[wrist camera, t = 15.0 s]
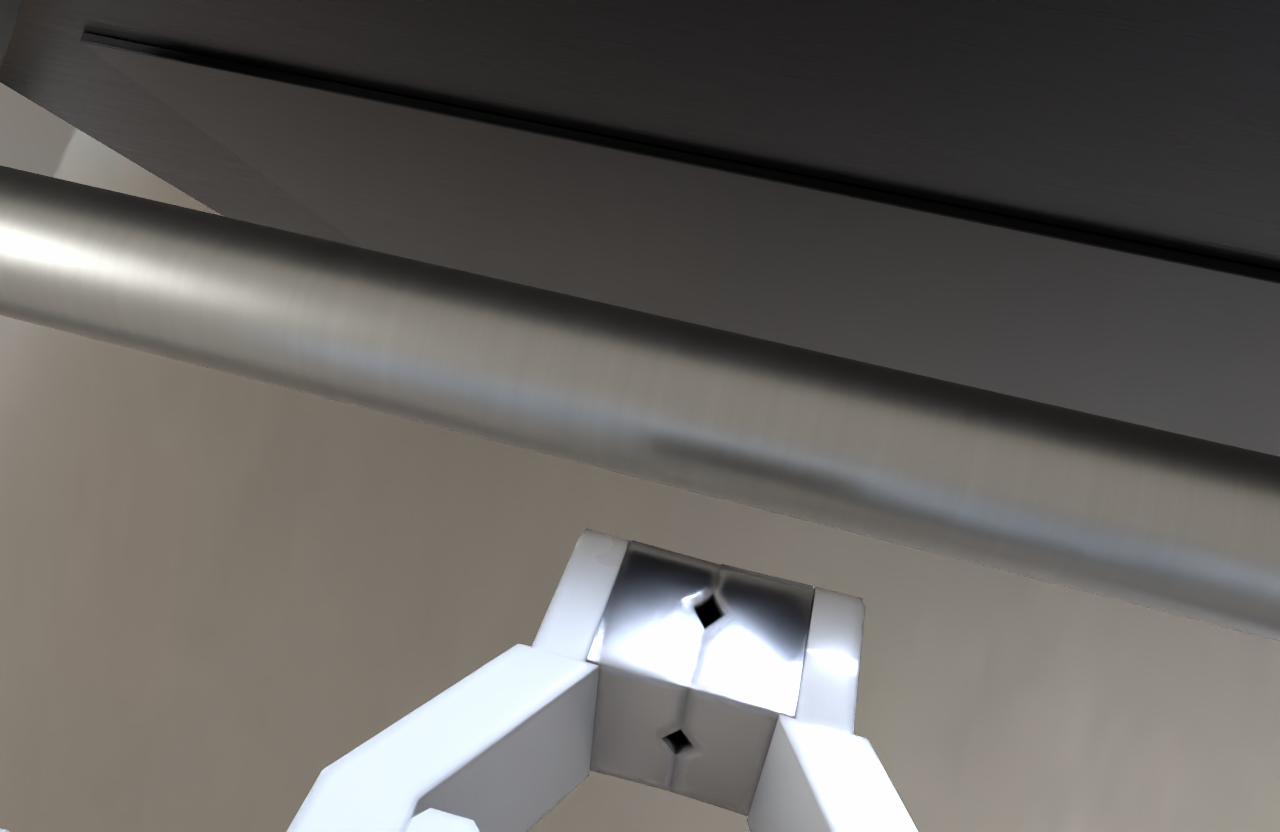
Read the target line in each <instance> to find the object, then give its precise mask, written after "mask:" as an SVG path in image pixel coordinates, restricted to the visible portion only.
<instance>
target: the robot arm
mask: <svg viewBox="0 0 1280 832" xmlns="http://www.w3.org/2000/svg"><path fill="white" fill-rule="evenodd" d="M864 614H865V605H864V602H863V599H862V598H858V597H854V596H850V595H846V594H842V593H838V592H834V591H830V590H826V589H822V588H818V587H815V588H814V589H813V586H811V585H807V584H803V583H799V582H795V581H791V580H786V579H782V578H778V577H774V576H770V575H766V574H761V573H757V572H753V571H749V570H745V569H740V568H736V567H732V566H728V565H724V564H721V565H719V564H715V563H712V562H708V561H705V560H701V559H697V558H694V557H690V556H687V555H683V554H679V553H676V552H672V551H669V550H665V549H661V548H658V547H654V546H651V545H647V544H643V543H640V542H636V541H633V540H632V541H630V540H627V539H623V538H619V537H616V536H612V535H608V534H605V533H601V532H597V531H594V530H590V529H586V530H585V532H584V533H583V534H582V535H581V537H580V538H579V539H578V541H577V544H576V546H575V548H574V550H573V553H572V555H571V557H570V560H569V562H568V564H567V566H566V569H565V571H564V573H563V576H562V578H561V580H560V583H559V585H558V587H557V589H556V592H555V594H554V596H553V599H552V601H551V603H550V605H549V608H548V610H547V612H546V615H545V617H544V619H543V621H542V624H541V626H540V628H539V631H538V633H537V635H536V638H535V640H534V642H533V644H532V647H531V646H527V645H523V644H519V643H518V644H516V645H515V646H513V647H512V648H510V649H509V650H507V651H506V652H504V653H502V654H501V655H499V656H498V657H496V658H495V659H493V660H492V661H490V662H488V663H487V664H485V665H484V666H482V667H481V668H479V669H478V670H476V671H475V672H473V673H471V674H470V675H468V676H467V677H465V678H464V679H462V680H461V681H459V682H458V683H456V684H454V685H453V686H451V687H450V688H448V689H447V690H445V691H444V692H442V693H440V694H439V695H437V696H436V697H434V698H433V699H431V700H430V701H428V702H427V703H425V704H423V705H422V706H420V707H419V708H417V709H416V710H414V711H413V712H411V713H410V714H408V715H406V716H405V717H403V718H402V719H400V720H399V721H397V722H396V723H394V724H393V725H391V726H389V727H388V728H386V729H385V730H383V731H382V732H380V733H379V734H377V735H375V736H374V737H372V738H371V739H369V740H368V741H366V742H365V743H363V744H362V745H360V746H358V747H357V748H355V749H354V750H352V751H351V752H349V753H348V754H346V755H345V756H343V757H341V758H340V759H338V760H337V761H335V762H334V763H332V764H331V765H329V766H327V767H326V768H324V769H323V770H322V771H321V773H320V775H319V777H318V778H317V780H316V782H315V783H314V785H313V787H312V789H311V790H310V792H309V794H308V795H307V797H306V799H305V801H304V802H303V804H302V806H301V808H300V809H299V811H298V813H297V814H296V816H295V818H294V820H293V821H292V823H291V825H290V826H289V828H288V830H287V832H527V831H528V830H529V829H531V828H532V827H533V826H534V825H535V824H536V823H537V822H538V821H539V820H540V819H542V818H543V817H544V816H545V815H546V814H547V813H548V812H549V811H550V810H551V809H553V808H554V807H555V806H556V805H557V804H558V803H559V802H560V801H561V800H563V799H564V798H565V797H566V796H567V795H568V794H569V793H570V792H571V791H572V790H574V789H575V788H576V787H577V786H578V785H579V784H580V783H581V782H582V781H583V780H585V779H586V778H587V777H588V776H589V770H591V771H595V772H599V773H603V774H606V775H610V776H614V777H618V778H622V779H626V780H629V781H633V782H637V783H641V784H645V785H648V786H652V787H656V788H660V789H664V790H668V791H671V792H674V793H677V794H680V795H683V796H686V797H690V798H693V799H696V800H699V801H702V802H705V803H708V804H712V805H715V806H718V807H721V808H724V809H727V810H730V811H733V812H737V813H740V814H743V815H746V816H748V818H747V822H748V825H749V828H750V831H751V832H918V830H917V829H916V827H915V825H914V823H913V821H912V819H911V817H910V816H909V814H908V812H907V810H906V808H905V806H904V805H903V803H902V801H901V799H900V797H899V795H898V793H897V792H896V790H895V788H894V786H893V784H892V782H891V780H890V779H889V777H888V775H887V773H886V771H885V769H884V768H883V766H882V764H881V762H880V760H879V758H878V756H877V755H876V753H875V751H874V749H873V747H872V745H871V743H870V742H869V740H868V739H866V738H863V737H860V736H856V735H853V732H854V722H855V711H856V700H857V689H858V678H859V668H860V657H861V646H862V635H863V625H864ZM0 832H11V831H8V830H5V829H2V828H0Z"/></svg>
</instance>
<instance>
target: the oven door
mask: <svg viewBox="0 0 1280 832" xmlns="http://www.w3.org/2000/svg"><path fill="white" fill-rule="evenodd" d="M0 82H1V83H3V84H4V85H6V86H8V87H10V88H11V89H13V90H14V91H16V92H18V93H19V94H21V95H23V96H25V97H26V98H28V99H29V100H31V101H33V102H34V103H36V104H38V105H39V106H41V107H43V108H45V109H46V110H48V111H49V112H51V113H53V114H54V115H56V116H58V117H59V118H61V119H63V120H65V121H66V122H68V123H69V124H71V125H73V126H74V127H76V128H78V129H79V130H81V131H83V132H84V133H86V134H88V135H89V136H91V137H93V138H94V139H96V140H98V141H99V142H101V143H103V144H104V145H106V146H108V147H109V148H111V149H113V150H114V151H116V152H118V153H119V154H121V155H123V156H124V157H126V158H128V159H129V160H131V161H133V162H134V163H136V164H138V165H139V166H141V167H143V168H144V169H146V170H148V171H149V172H151V173H153V174H154V175H156V176H158V177H159V178H161V179H163V180H164V181H166V182H168V183H169V184H171V185H173V186H174V187H176V188H178V189H179V190H181V191H183V192H184V193H186V194H188V195H189V196H191V197H193V198H194V199H196V200H198V201H199V202H201V203H203V204H205V205H206V206H208V207H210V208H211V209H213V210H215V211H216V212H218V213H220V214H221V215H223V216H220V215H215V214H211V213H206V212H202V211H198V210H193V209H189V208H184V207H180V206H176V205H171V204H167V203H162V202H158V201H154V200H149V199H145V198H141V197H136V196H132V195H127V194H123V193H119V192H114V191H110V190H105V189H101V188H97V187H92V186H88V185H83V184H79V183H75V182H70V181H66V180H61V179H57V178H53V177H48V176H44V175H39V174H35V173H31V172H26V171H22V170H17V169H13V168H9V167H4V166H0V315H3V316H7V317H11V318H15V319H19V320H23V321H26V322H30V323H34V324H38V325H42V326H46V327H50V328H54V329H58V330H62V331H66V332H70V333H73V334H77V335H81V336H85V337H89V338H93V339H97V340H101V341H105V342H109V343H113V344H117V345H121V346H124V347H128V348H132V349H136V350H140V351H144V352H148V353H152V354H156V355H160V356H164V357H168V358H172V359H175V360H179V361H183V362H187V363H191V364H195V365H199V366H203V367H207V368H211V369H215V370H219V371H223V372H226V373H230V374H234V375H238V376H242V377H246V378H250V379H254V380H258V381H262V382H266V383H270V384H274V385H277V386H281V387H285V388H289V389H293V390H297V391H301V392H305V393H309V394H313V395H317V396H321V397H325V398H328V399H332V400H336V401H340V402H344V403H348V404H352V405H356V406H360V407H364V408H368V409H372V410H376V411H379V412H383V413H387V414H391V415H395V416H399V417H403V418H407V419H411V420H415V421H419V422H423V423H426V424H430V425H434V426H438V427H442V428H446V429H450V430H454V431H458V432H462V433H466V434H470V435H474V436H477V437H481V438H485V439H489V440H493V441H497V442H501V443H505V444H509V445H513V446H517V447H521V448H525V449H528V450H532V451H536V452H540V453H544V454H548V455H552V456H556V457H560V458H564V459H568V460H572V461H576V462H579V463H583V464H587V465H591V466H595V467H599V468H603V469H607V470H611V471H615V472H619V473H623V474H627V475H630V476H634V477H638V478H642V479H646V480H650V481H654V482H658V483H662V484H666V485H670V486H674V487H678V488H681V489H685V490H689V491H693V492H697V493H701V494H705V495H709V496H713V497H717V498H721V499H725V500H729V501H732V502H736V503H740V504H744V505H748V506H752V507H756V508H760V509H764V510H768V511H772V512H776V513H780V514H783V515H787V516H791V517H795V518H799V519H803V520H807V521H811V522H815V523H819V524H823V525H827V526H830V527H834V528H838V529H842V530H846V531H850V532H854V533H858V534H862V535H866V536H870V537H874V538H878V539H881V540H885V541H889V542H893V543H897V544H901V545H905V546H909V547H913V548H917V549H921V550H925V551H929V552H932V553H936V554H940V555H944V556H948V557H952V558H956V559H960V560H964V561H968V562H972V563H976V564H980V565H983V566H987V567H991V568H995V569H999V570H1003V571H1007V572H1011V573H1015V574H1019V575H1023V576H1027V577H1031V578H1034V579H1038V580H1042V581H1046V582H1050V583H1054V584H1058V585H1062V586H1066V587H1070V588H1074V589H1078V590H1082V591H1085V592H1089V593H1093V594H1097V595H1101V596H1105V597H1109V598H1113V599H1117V600H1121V601H1125V602H1129V603H1133V604H1136V605H1140V606H1144V607H1148V608H1152V609H1156V610H1160V611H1164V612H1168V613H1172V614H1176V615H1180V616H1184V617H1187V618H1191V619H1195V620H1199V621H1203V622H1207V623H1211V624H1215V625H1219V626H1223V627H1227V628H1231V629H1234V630H1238V631H1242V632H1246V633H1250V634H1254V635H1258V636H1262V637H1266V638H1270V639H1274V640H1278V641H1280V0H0ZM224 216H225V217H224Z"/></svg>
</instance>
